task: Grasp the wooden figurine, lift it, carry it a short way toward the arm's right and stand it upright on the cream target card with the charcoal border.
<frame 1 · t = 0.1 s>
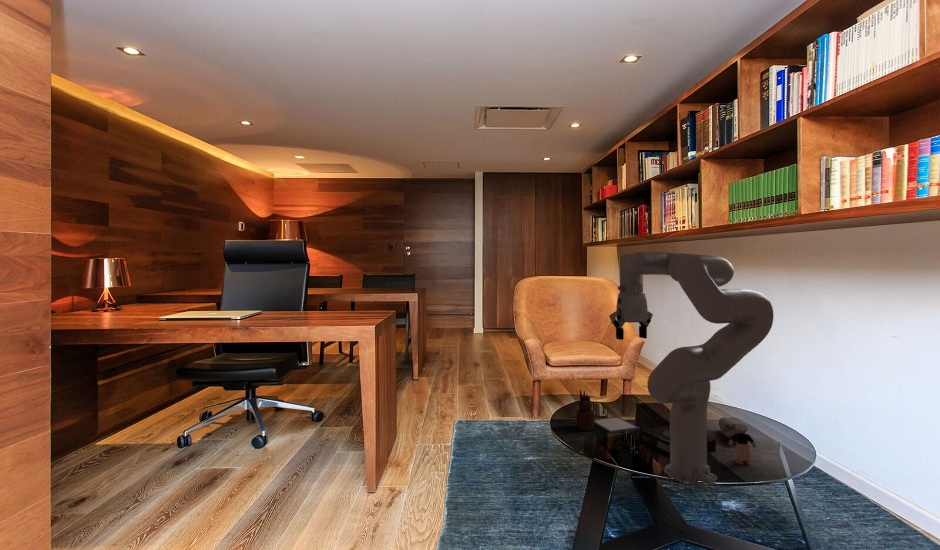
hand: (631, 338, 144), 37 cm above the table, tool pointing down, fingers open, 9 cm apart
decorative bird: (729, 439, 149), on the table
target card: (614, 425, 162), on the table
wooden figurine: (585, 429, 158), on the table
grandmother figurine: (741, 463, 129), on the table
portable cd player: (676, 447, 143), on the table
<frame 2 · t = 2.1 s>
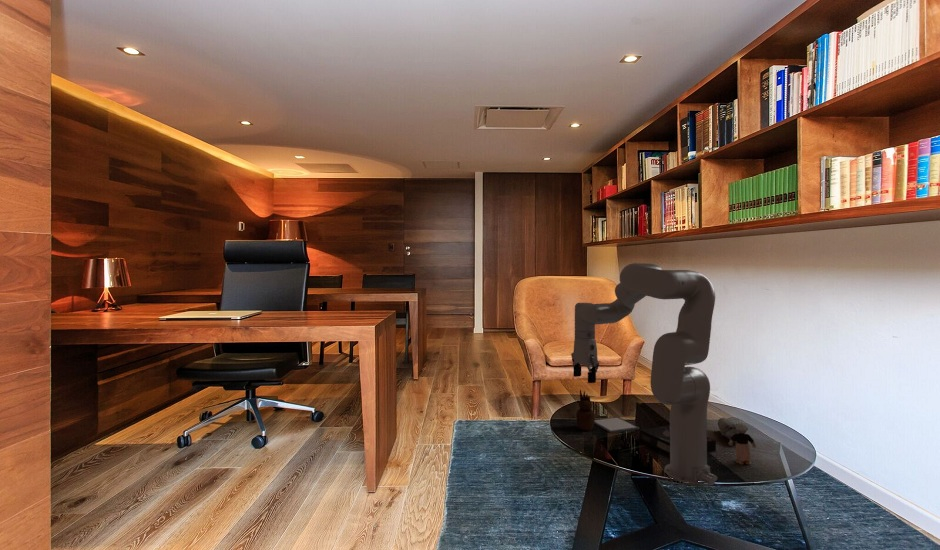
hand: (584, 379, 159), 19 cm above the table, tool pointing down, fingers open, 9 cm apart
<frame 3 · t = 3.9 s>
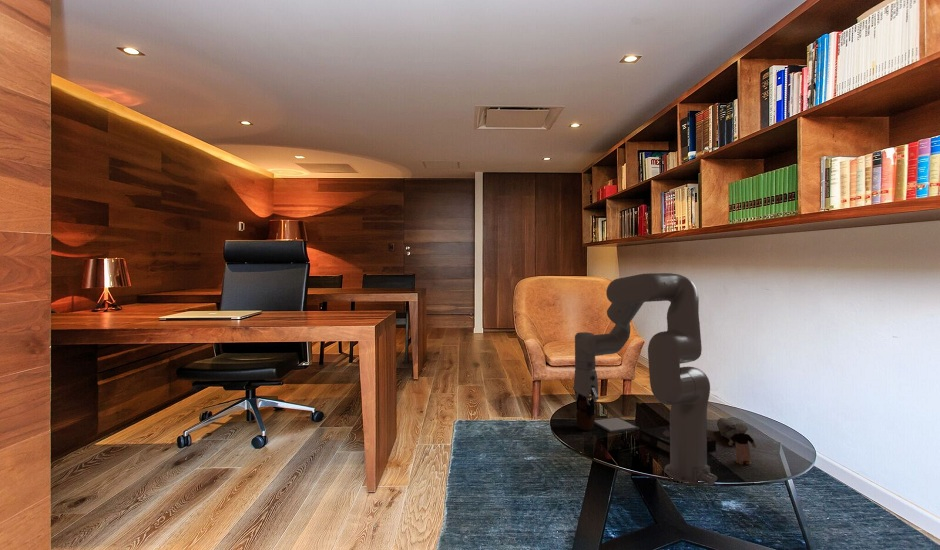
hand: (585, 411, 158), 7 cm above the table, tool pointing down, fingers closed on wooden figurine, 6 cm apart
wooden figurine: (585, 429, 158), on the table, touching gripper
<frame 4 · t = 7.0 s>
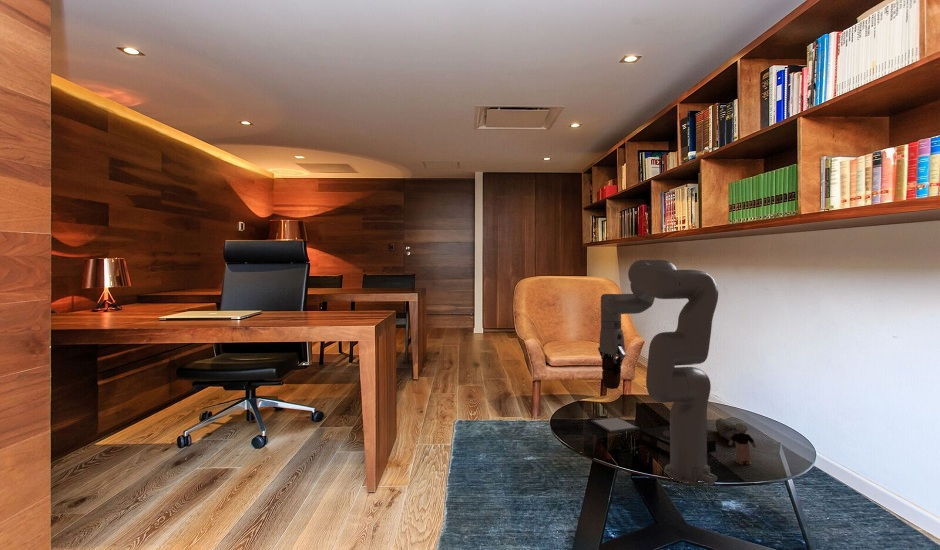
hand: (611, 371, 162), 21 cm above the table, tool pointing down, fingers closed on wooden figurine, 6 cm apart
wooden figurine: (611, 388, 162), point 15 cm above the table, touching gripper
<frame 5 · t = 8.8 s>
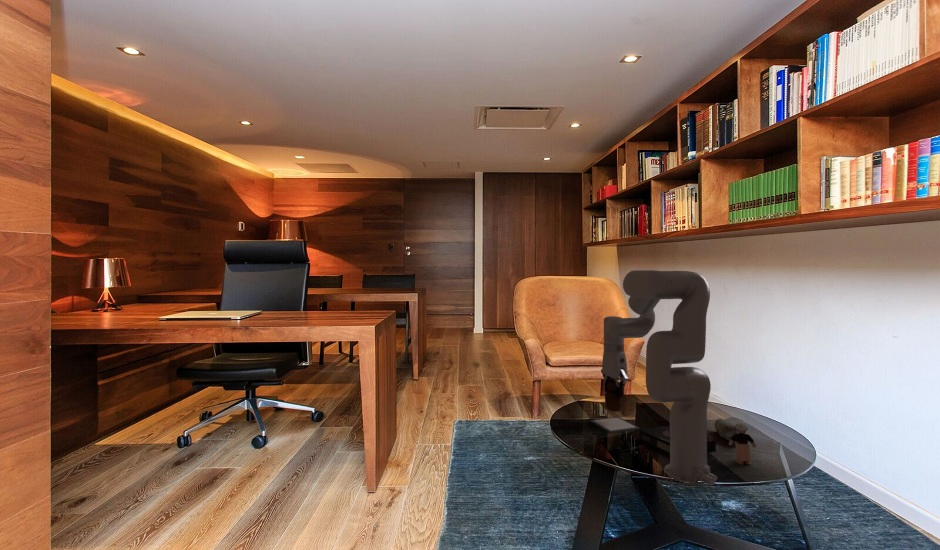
hand: (613, 393, 162), 12 cm above the table, tool pointing down, fingers closed on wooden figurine, 6 cm apart
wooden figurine: (614, 411, 162), point 6 cm above the table, touching gripper
when the fingers open (8 cm above the table, at t = 10.1 s): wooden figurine drops 1 cm, resting on target card.
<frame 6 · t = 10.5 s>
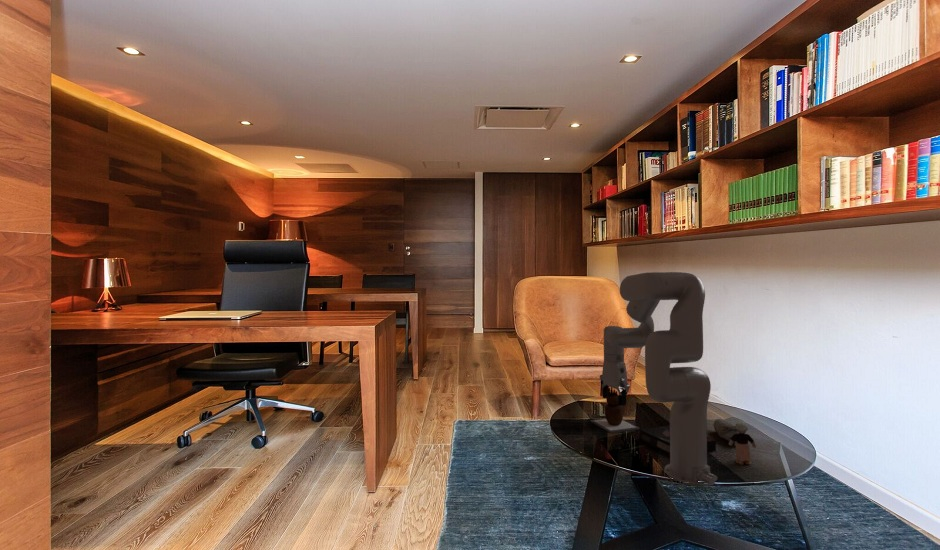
hand: (614, 401, 162), 9 cm above the table, tool pointing down, fingers open, 9 cm apart
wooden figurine: (614, 424, 162), point 1 cm above the table, touching target card
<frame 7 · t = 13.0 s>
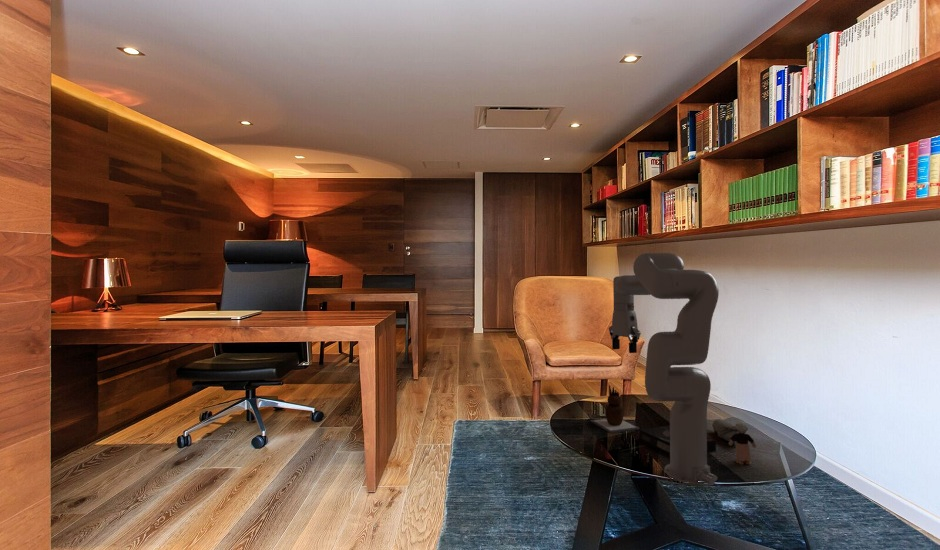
hand: (624, 350, 163), 29 cm above the table, tool pointing down, fingers open, 9 cm apart
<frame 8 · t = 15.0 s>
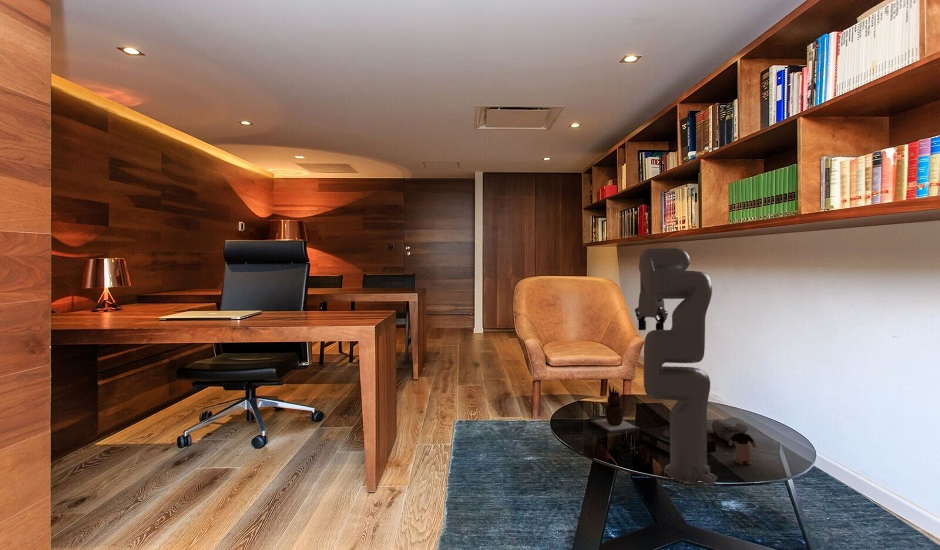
hand: (650, 331, 165), 36 cm above the table, tool pointing down, fingers open, 9 cm apart
at the end: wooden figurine inside the target area on the target card (0.2 cm from its centre), point 0.4 cm above the target card's base; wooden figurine tilted 0°; the gripper is holding nothing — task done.
